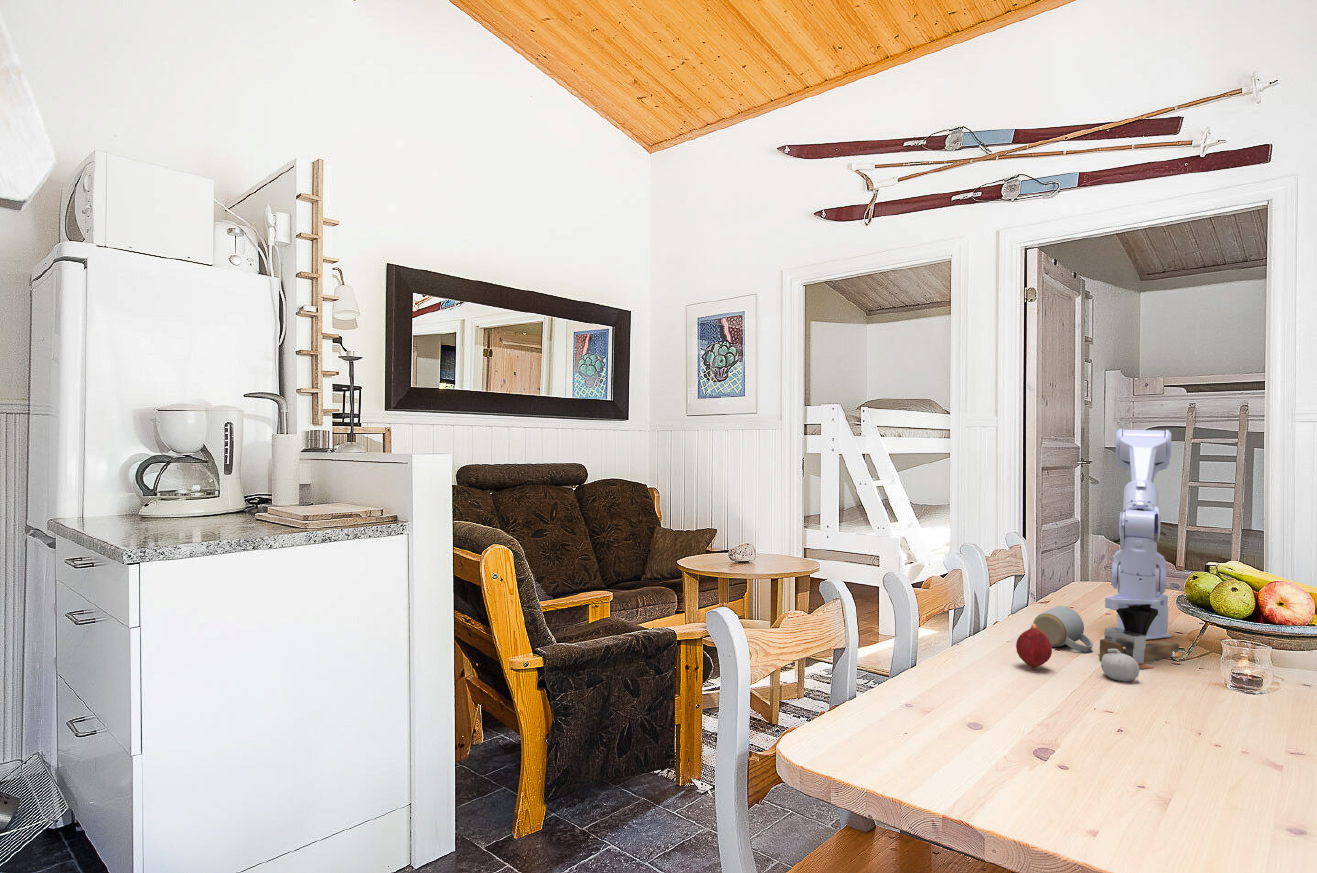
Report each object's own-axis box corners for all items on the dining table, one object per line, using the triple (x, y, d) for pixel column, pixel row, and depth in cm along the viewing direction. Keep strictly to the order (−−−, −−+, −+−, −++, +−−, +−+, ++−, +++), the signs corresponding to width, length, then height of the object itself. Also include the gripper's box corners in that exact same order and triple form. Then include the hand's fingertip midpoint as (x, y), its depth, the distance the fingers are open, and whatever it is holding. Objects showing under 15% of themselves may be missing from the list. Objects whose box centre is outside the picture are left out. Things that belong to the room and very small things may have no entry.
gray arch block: (1114, 654, 146) (1115, 627, 146) (1144, 663, 141) (1145, 635, 141) (1103, 655, 145) (1104, 628, 145) (1133, 665, 140) (1134, 636, 140)
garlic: (1094, 678, 133) (1095, 648, 133) (1105, 672, 137) (1106, 643, 137) (1132, 687, 129) (1133, 656, 128) (1143, 681, 132) (1144, 651, 132)
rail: (1151, 648, 152) (1151, 629, 152) (1197, 662, 144) (1197, 641, 144) (1086, 656, 146) (1087, 635, 146) (1131, 671, 137) (1131, 649, 137)
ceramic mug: (1028, 643, 154) (1030, 607, 154) (1046, 637, 159) (1048, 602, 159) (1082, 657, 146) (1084, 619, 146) (1099, 650, 151) (1101, 613, 151)
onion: (1057, 674, 134) (1059, 629, 134) (1024, 673, 134) (1025, 627, 134) (1041, 664, 140) (1043, 621, 140) (1010, 663, 140) (1011, 619, 140)
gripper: (1131, 579, 137) (1128, 654, 138) (1184, 575, 143) (1182, 647, 143) (1095, 572, 144) (1093, 643, 144) (1148, 568, 149) (1146, 637, 150)
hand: (1135, 645), depth 144 cm, fingers closed
